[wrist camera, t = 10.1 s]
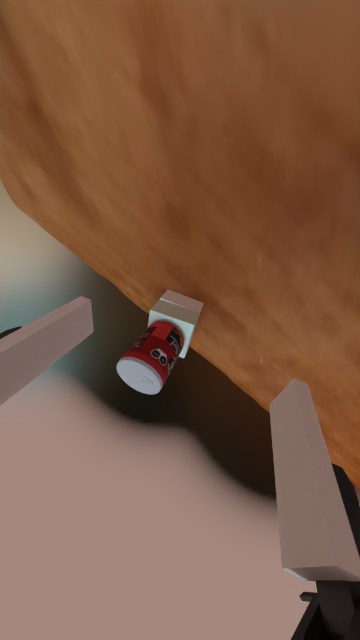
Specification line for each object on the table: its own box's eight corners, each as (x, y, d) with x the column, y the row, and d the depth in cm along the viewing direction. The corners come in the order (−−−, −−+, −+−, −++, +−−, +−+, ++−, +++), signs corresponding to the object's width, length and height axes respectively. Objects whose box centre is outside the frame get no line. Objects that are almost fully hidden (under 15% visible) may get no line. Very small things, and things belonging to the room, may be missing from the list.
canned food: (184, 354, 39) (161, 400, 30) (150, 344, 41) (120, 384, 32) (186, 325, 34) (160, 370, 26) (147, 315, 36) (111, 353, 28)
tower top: (199, 312, 39) (194, 325, 35) (189, 344, 44) (184, 358, 40) (159, 299, 40) (150, 309, 36) (154, 331, 45) (145, 343, 41)
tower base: (204, 302, 43) (199, 312, 39) (193, 331, 48) (188, 343, 44) (168, 289, 44) (160, 297, 40) (161, 319, 49) (153, 329, 45)
